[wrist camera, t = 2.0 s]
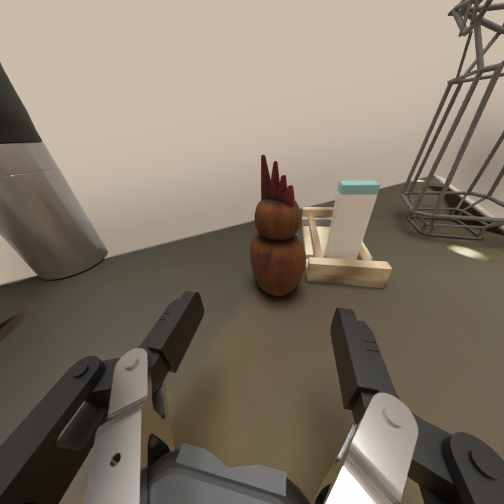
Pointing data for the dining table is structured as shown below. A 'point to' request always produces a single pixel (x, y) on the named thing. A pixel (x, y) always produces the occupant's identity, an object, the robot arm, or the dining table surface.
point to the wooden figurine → (277, 236)
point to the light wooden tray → (337, 270)
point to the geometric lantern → (475, 23)
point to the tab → (350, 218)
